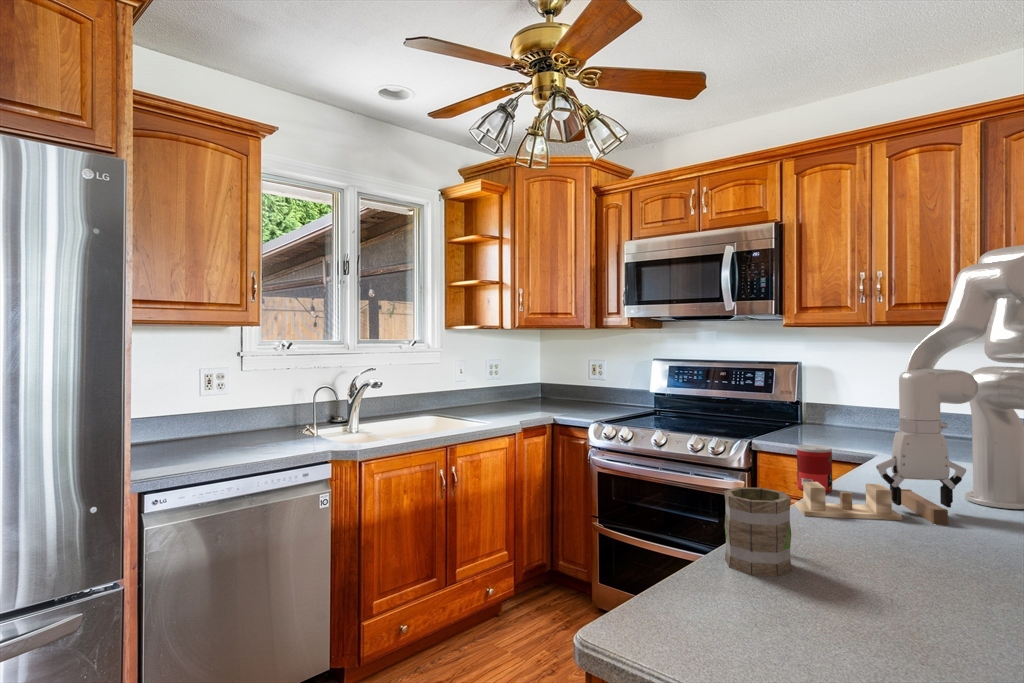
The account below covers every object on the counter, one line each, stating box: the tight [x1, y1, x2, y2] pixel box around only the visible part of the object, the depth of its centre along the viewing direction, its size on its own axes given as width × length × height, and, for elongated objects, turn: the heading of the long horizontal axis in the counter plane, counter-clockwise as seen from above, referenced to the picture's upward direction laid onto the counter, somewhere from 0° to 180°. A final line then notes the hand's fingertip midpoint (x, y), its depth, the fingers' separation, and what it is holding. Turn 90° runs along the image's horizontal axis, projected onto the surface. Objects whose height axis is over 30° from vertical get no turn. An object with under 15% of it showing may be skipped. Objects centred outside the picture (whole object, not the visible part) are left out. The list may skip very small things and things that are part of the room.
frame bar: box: [901, 488, 949, 526], centre depth 133 cm, size 18×3×3 cm, turn 168°
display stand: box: [794, 482, 903, 521], centre depth 133 cm, size 19×8×6 cm, turn 78°
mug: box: [723, 486, 793, 577], centre depth 105 cm, size 16×11×12 cm
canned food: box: [796, 444, 833, 495], centre depth 154 cm, size 8×8×11 cm
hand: (921, 504), depth 133 cm, fingers open, 9 cm apart
